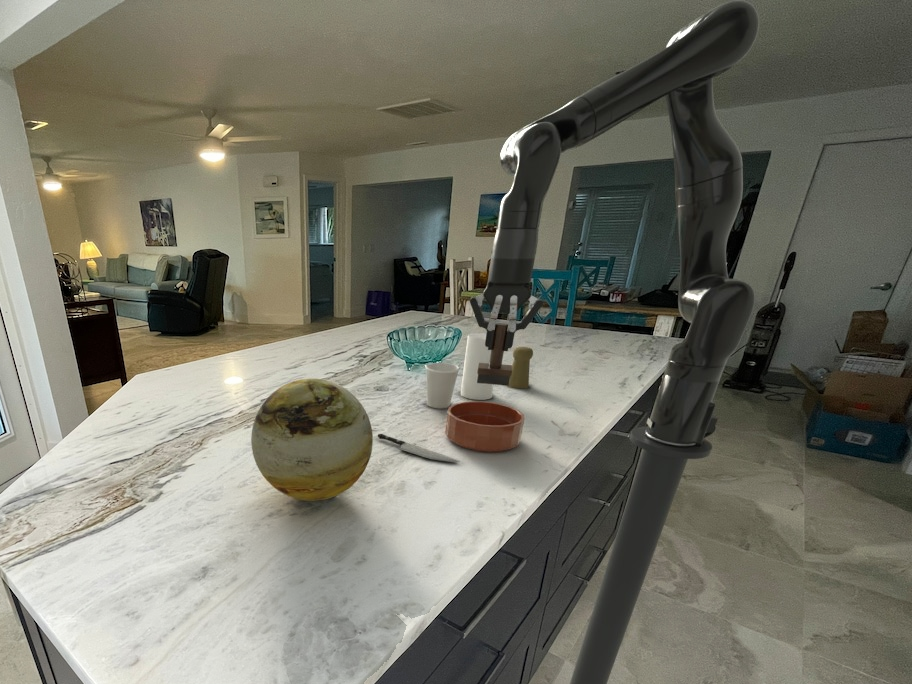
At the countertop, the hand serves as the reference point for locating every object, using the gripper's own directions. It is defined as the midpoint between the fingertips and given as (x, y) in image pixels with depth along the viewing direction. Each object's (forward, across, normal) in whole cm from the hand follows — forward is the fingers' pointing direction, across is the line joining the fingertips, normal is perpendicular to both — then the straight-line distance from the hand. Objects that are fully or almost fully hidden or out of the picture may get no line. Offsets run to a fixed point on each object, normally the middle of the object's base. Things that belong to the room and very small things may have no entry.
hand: (497, 349), depth 93 cm
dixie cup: (+20, -12, +19) cm, 30 cm away
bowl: (+19, 0, -1) cm, 19 cm away
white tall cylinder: (+19, -3, +30) cm, 36 cm away
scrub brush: (+7, 0, 0) cm, 7 cm away
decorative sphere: (+20, -27, -34) cm, 48 cm away
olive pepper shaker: (+19, +8, +43) cm, 48 cm away
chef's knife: (+19, -13, -12) cm, 26 cm away
